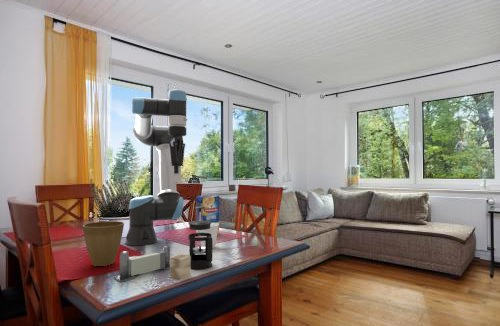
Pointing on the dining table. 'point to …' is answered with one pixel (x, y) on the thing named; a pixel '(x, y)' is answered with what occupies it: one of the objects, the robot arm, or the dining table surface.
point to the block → (180, 266)
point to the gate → (146, 263)
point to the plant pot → (103, 241)
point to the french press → (200, 259)
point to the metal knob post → (124, 267)
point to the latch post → (167, 257)
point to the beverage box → (208, 209)
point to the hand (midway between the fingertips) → (177, 181)
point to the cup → (213, 231)
